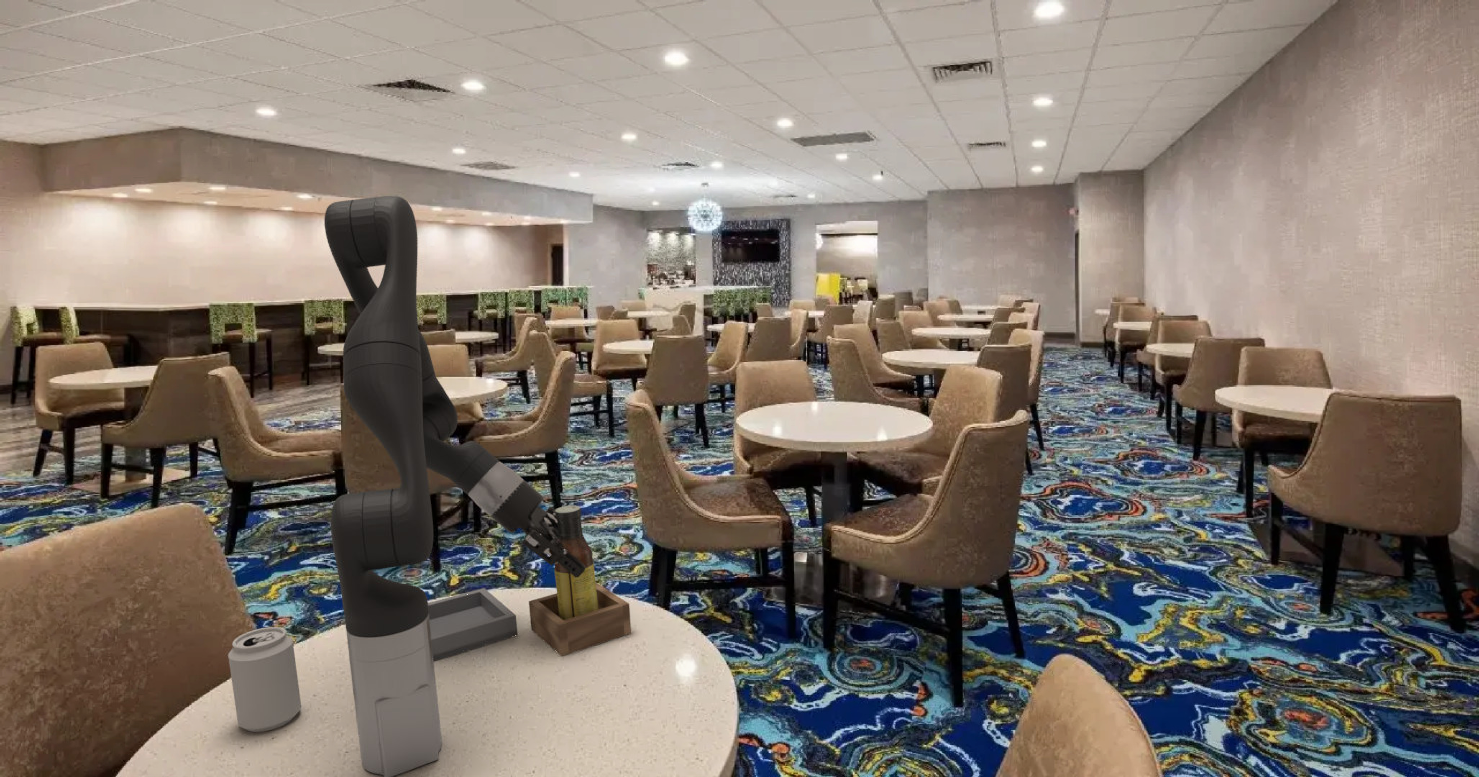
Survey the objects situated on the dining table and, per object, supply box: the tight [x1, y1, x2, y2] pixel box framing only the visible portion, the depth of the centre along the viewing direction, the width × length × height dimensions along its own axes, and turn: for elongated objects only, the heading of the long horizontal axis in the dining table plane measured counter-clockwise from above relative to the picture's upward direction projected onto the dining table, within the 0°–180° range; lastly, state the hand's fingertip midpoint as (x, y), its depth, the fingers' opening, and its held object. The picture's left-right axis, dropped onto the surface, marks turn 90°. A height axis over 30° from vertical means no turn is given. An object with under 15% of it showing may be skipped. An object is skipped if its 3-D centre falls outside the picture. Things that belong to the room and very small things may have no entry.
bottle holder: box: [528, 582, 632, 657], centre depth 133 cm, size 12×12×5 cm
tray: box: [428, 587, 519, 662], centre depth 135 cm, size 15×15×4 cm
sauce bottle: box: [553, 504, 598, 620], centre depth 132 cm, size 6×6×20 cm
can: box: [227, 626, 302, 733], centre depth 110 cm, size 8×8×12 cm
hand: (585, 565), depth 132 cm, fingers closed on sauce bottle, 6 cm apart
